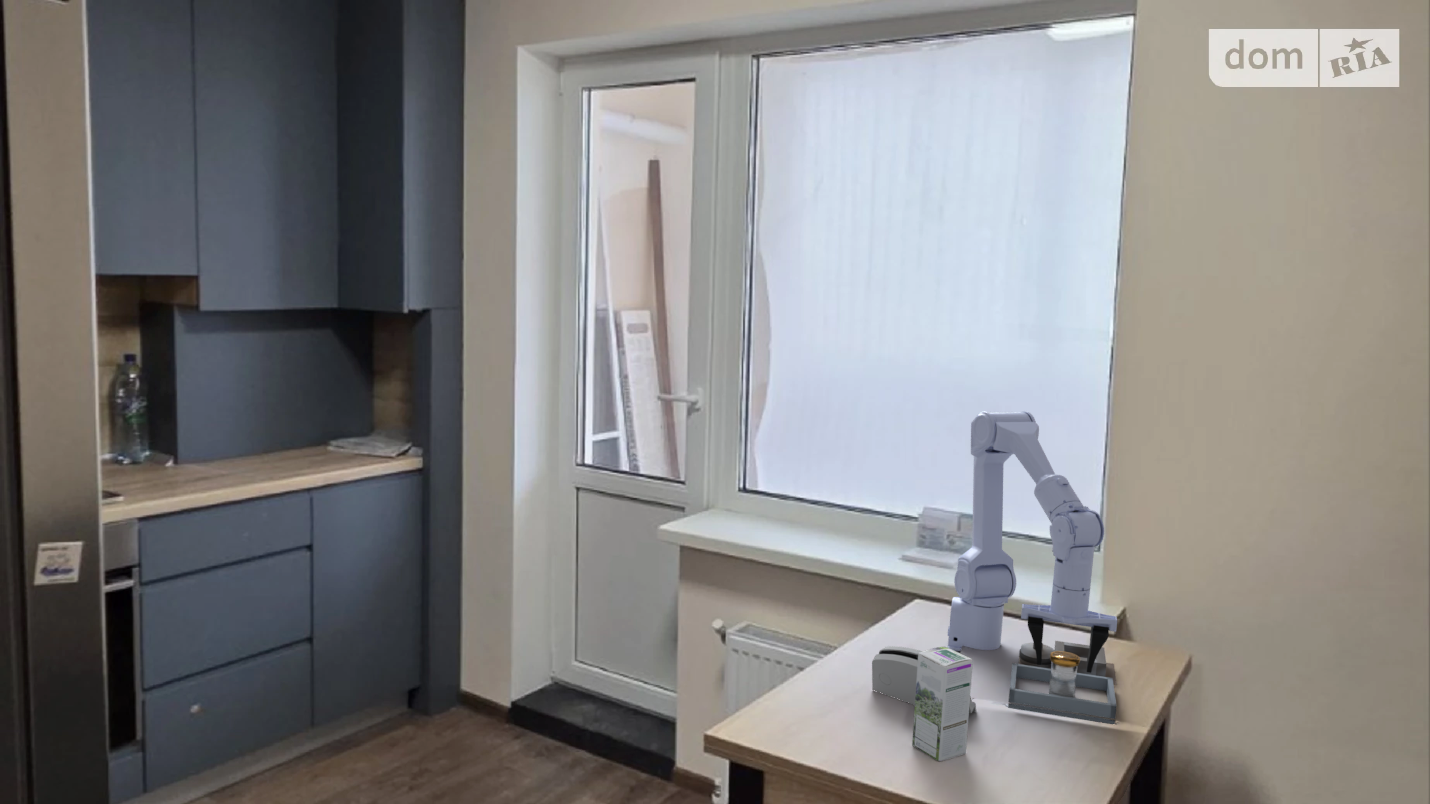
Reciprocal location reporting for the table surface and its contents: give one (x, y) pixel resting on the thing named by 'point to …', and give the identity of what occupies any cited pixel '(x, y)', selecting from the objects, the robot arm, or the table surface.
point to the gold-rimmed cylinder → (1063, 673)
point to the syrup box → (942, 703)
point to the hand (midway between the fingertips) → (1063, 666)
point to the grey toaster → (898, 674)
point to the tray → (1062, 701)
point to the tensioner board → (1099, 667)
